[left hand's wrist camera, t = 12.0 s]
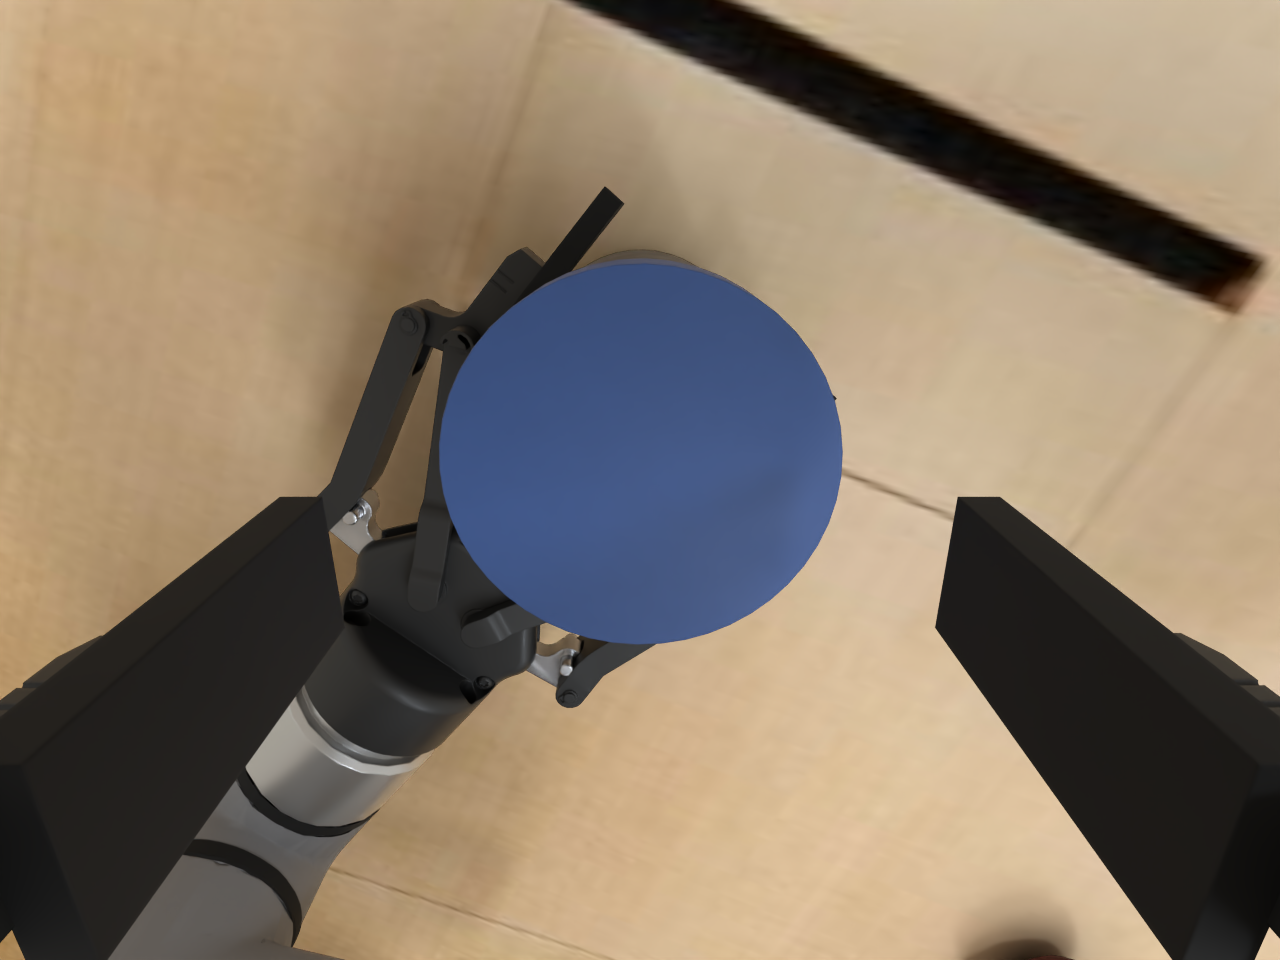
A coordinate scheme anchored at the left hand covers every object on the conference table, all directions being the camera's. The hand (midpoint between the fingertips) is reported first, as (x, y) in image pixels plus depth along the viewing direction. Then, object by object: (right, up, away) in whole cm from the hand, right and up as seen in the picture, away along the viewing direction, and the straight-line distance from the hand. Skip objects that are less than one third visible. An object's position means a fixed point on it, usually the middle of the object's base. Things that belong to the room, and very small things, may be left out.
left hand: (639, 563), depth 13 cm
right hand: (+3, +8, +12) cm, 15 cm away
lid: (0, +2, +5) cm, 5 cm away
